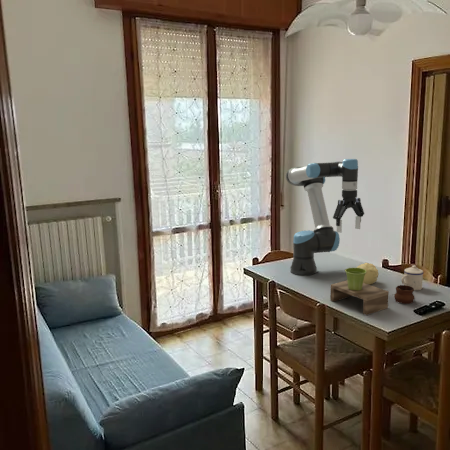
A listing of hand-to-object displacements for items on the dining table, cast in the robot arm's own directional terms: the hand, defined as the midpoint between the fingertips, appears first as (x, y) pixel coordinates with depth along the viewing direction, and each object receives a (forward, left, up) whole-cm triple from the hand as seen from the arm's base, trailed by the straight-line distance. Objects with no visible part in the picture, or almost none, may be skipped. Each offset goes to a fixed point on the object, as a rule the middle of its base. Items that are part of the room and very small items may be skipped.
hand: (348, 230), depth 234 cm
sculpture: (+5, +9, -29) cm, 31 cm away
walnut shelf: (+24, -18, -29) cm, 42 cm away
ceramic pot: (+34, +2, -29) cm, 45 cm away
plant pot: (+24, -20, -21) cm, 38 cm away
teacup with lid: (+24, +20, -29) cm, 43 cm away
